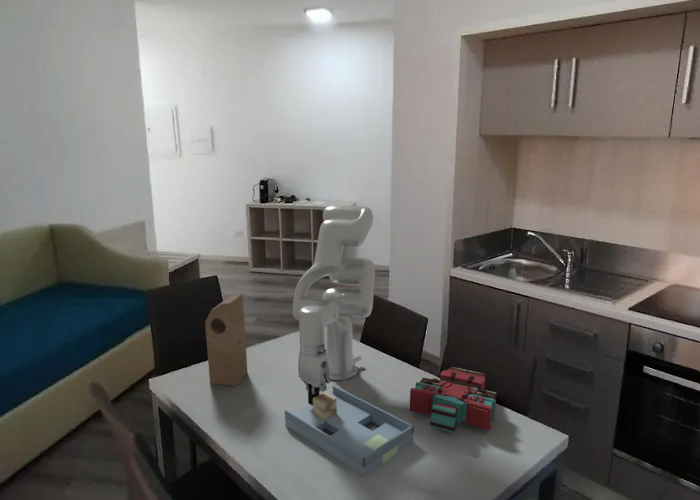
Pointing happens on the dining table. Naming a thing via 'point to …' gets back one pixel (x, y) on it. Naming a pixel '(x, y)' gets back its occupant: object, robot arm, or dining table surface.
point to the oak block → (324, 405)
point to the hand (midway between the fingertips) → (314, 402)
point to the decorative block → (227, 342)
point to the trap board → (353, 432)
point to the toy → (454, 400)
